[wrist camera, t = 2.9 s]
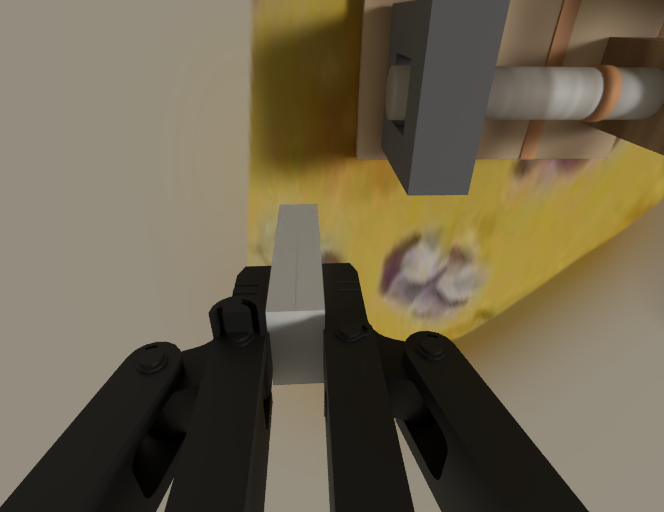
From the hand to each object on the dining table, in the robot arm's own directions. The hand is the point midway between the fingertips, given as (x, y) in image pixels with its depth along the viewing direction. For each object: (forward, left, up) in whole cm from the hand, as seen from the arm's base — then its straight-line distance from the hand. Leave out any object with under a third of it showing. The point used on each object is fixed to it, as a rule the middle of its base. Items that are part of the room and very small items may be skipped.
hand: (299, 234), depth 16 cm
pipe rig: (-4, +13, -13) cm, 18 cm away
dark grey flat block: (-4, +7, -11) cm, 14 cm away
